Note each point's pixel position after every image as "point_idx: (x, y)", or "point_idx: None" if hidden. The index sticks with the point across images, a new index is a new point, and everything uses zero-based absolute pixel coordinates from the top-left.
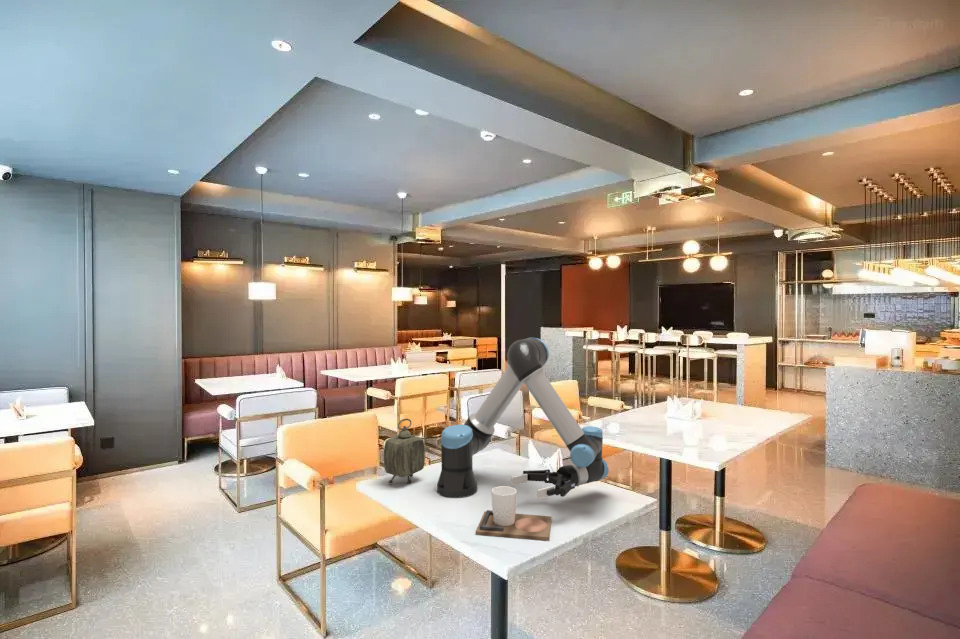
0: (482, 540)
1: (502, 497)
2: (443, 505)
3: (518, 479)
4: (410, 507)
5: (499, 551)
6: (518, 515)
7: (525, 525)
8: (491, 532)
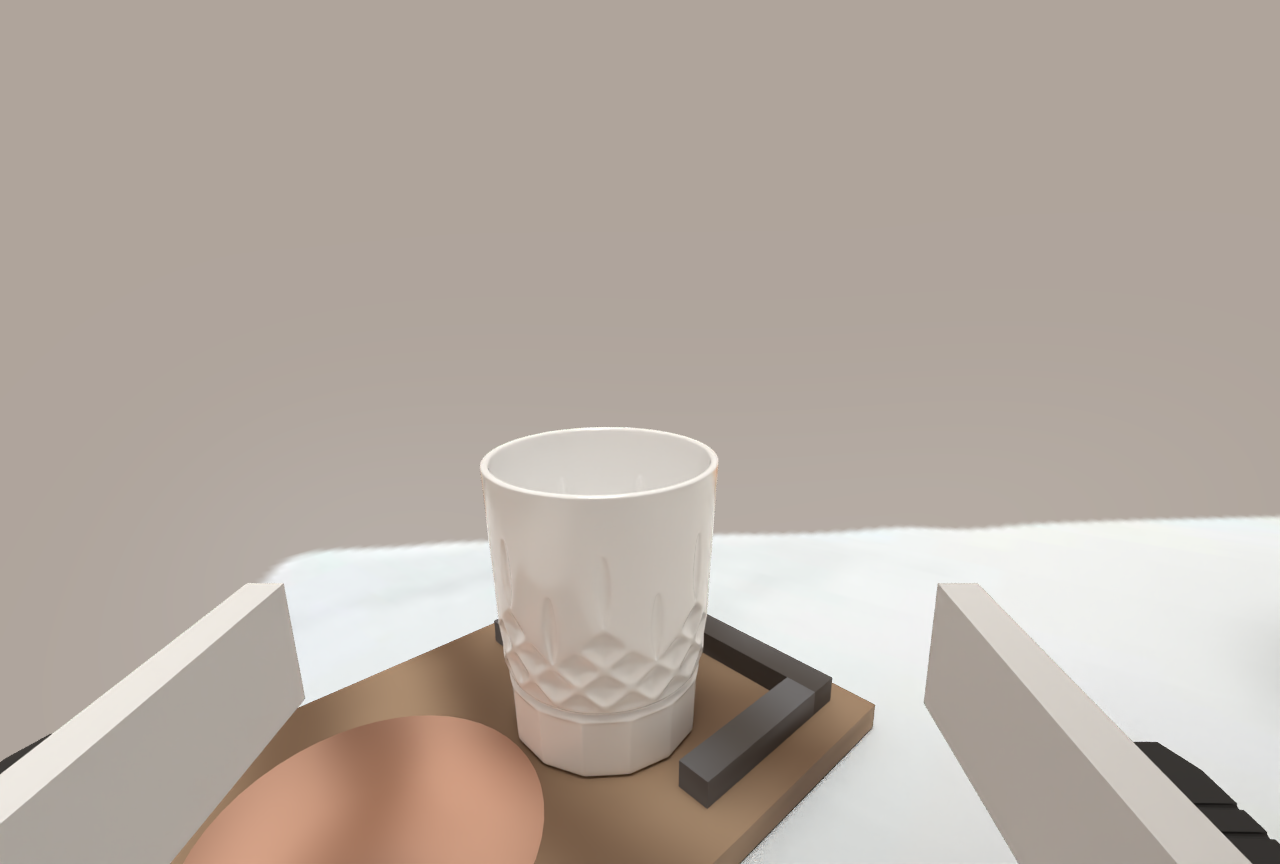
0: None
1: (533, 452)
2: (1116, 625)
3: (1004, 730)
4: (1083, 538)
5: (395, 584)
6: None
7: (410, 785)
8: None
